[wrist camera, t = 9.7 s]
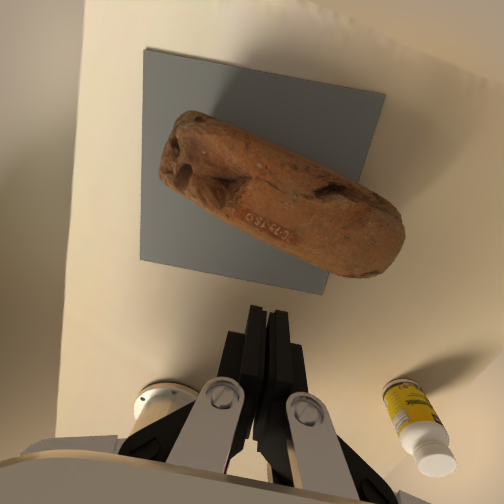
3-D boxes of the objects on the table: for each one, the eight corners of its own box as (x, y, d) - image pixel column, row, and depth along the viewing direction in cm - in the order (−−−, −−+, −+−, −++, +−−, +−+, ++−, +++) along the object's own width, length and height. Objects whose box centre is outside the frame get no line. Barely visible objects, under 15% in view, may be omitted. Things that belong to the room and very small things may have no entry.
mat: (321, 293, 34) (321, 295, 34) (141, 258, 35) (139, 259, 34) (384, 95, 26) (385, 94, 26) (145, 50, 26) (143, 49, 26)
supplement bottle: (429, 385, 39) (476, 461, 30) (406, 409, 41) (443, 487, 32) (394, 371, 38) (431, 444, 29) (373, 397, 40) (401, 472, 31)
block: (343, 252, 32) (183, 176, 30) (382, 193, 29) (206, 106, 28) (370, 305, 22) (134, 195, 20) (433, 223, 19) (162, 89, 18)
